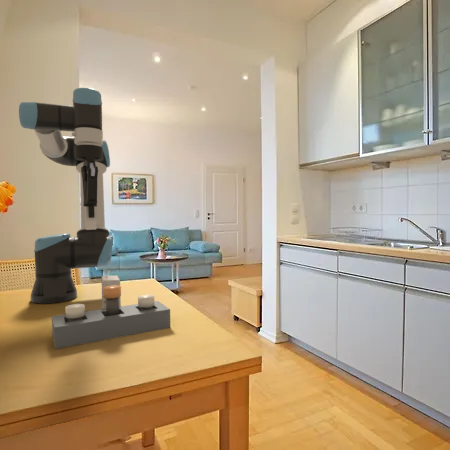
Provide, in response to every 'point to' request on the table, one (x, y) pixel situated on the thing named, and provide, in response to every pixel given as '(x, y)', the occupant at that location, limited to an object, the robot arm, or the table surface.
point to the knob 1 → (75, 312)
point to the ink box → (109, 282)
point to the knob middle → (112, 299)
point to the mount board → (108, 324)
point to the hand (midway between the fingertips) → (91, 229)
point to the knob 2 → (146, 302)
